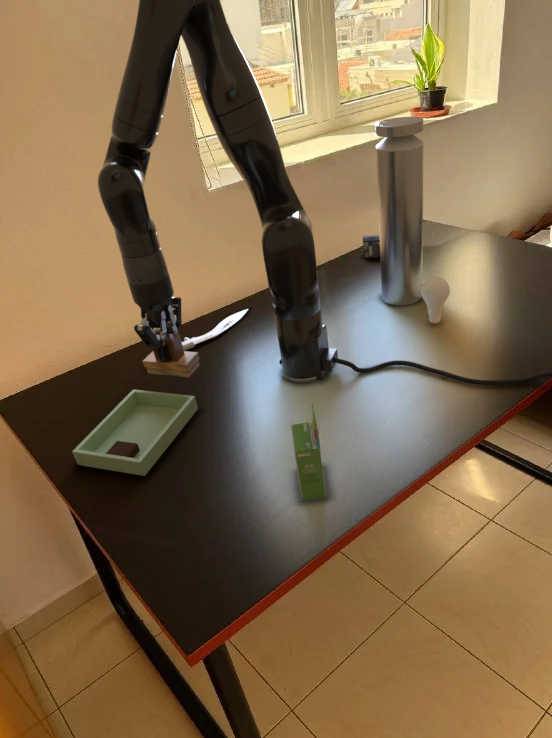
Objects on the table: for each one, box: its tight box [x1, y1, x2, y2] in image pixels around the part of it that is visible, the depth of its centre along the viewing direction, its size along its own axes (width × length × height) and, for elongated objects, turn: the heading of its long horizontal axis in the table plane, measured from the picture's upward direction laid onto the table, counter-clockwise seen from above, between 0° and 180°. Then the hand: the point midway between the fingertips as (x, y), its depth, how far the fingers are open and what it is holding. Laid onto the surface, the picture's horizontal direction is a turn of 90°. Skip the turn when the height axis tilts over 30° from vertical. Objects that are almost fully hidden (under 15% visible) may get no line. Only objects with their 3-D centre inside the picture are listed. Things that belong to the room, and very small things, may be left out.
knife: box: [181, 308, 249, 351], centre depth 138 cm, size 30×2×8 cm
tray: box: [71, 389, 199, 477], centre depth 106 cm, size 14×20×4 cm
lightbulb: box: [421, 276, 451, 325], centre depth 126 cm, size 6×6×11 cm
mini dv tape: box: [362, 234, 380, 259], centre depth 165 cm, size 8×2×6 cm, turn 80°
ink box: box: [290, 402, 328, 501], centre depth 87 cm, size 7×4×13 cm, turn 5°
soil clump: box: [106, 441, 140, 458], centre depth 101 cm, size 4×4×2 cm
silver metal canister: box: [374, 116, 425, 307], centre depth 131 cm, size 10×10×40 cm
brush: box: [142, 333, 201, 378], centre depth 113 cm, size 10×5×8 cm, turn 71°
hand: (170, 355), depth 114 cm, fingers closed on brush, 3 cm apart
